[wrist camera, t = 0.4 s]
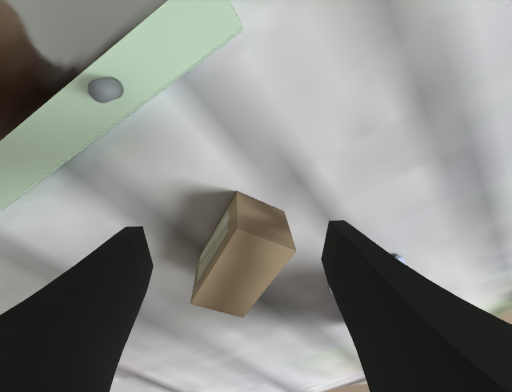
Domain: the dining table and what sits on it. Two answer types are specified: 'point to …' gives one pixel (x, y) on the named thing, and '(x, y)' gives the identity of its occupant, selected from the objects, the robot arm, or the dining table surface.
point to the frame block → (242, 256)
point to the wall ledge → (113, 89)
